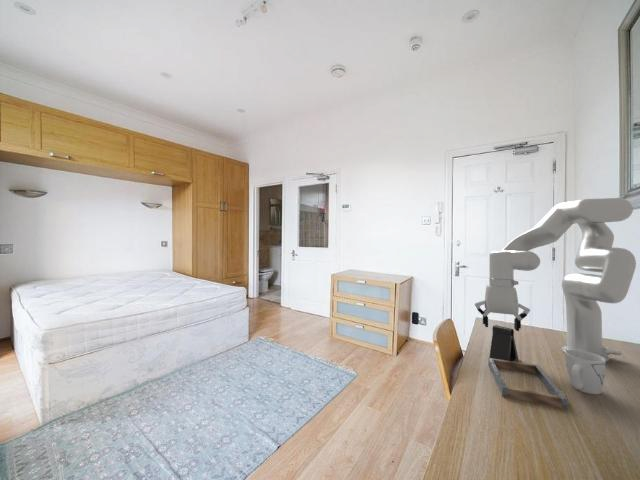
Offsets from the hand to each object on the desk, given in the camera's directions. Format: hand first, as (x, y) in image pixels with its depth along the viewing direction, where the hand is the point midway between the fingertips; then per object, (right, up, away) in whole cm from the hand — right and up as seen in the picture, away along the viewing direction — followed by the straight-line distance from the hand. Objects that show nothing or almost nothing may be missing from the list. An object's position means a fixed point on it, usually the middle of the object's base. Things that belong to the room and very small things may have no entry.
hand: (501, 328), depth 96 cm
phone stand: (+1, -12, 0) cm, 12 cm away
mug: (+10, -11, -21) cm, 26 cm away
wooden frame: (-6, -12, -17) cm, 21 cm away
